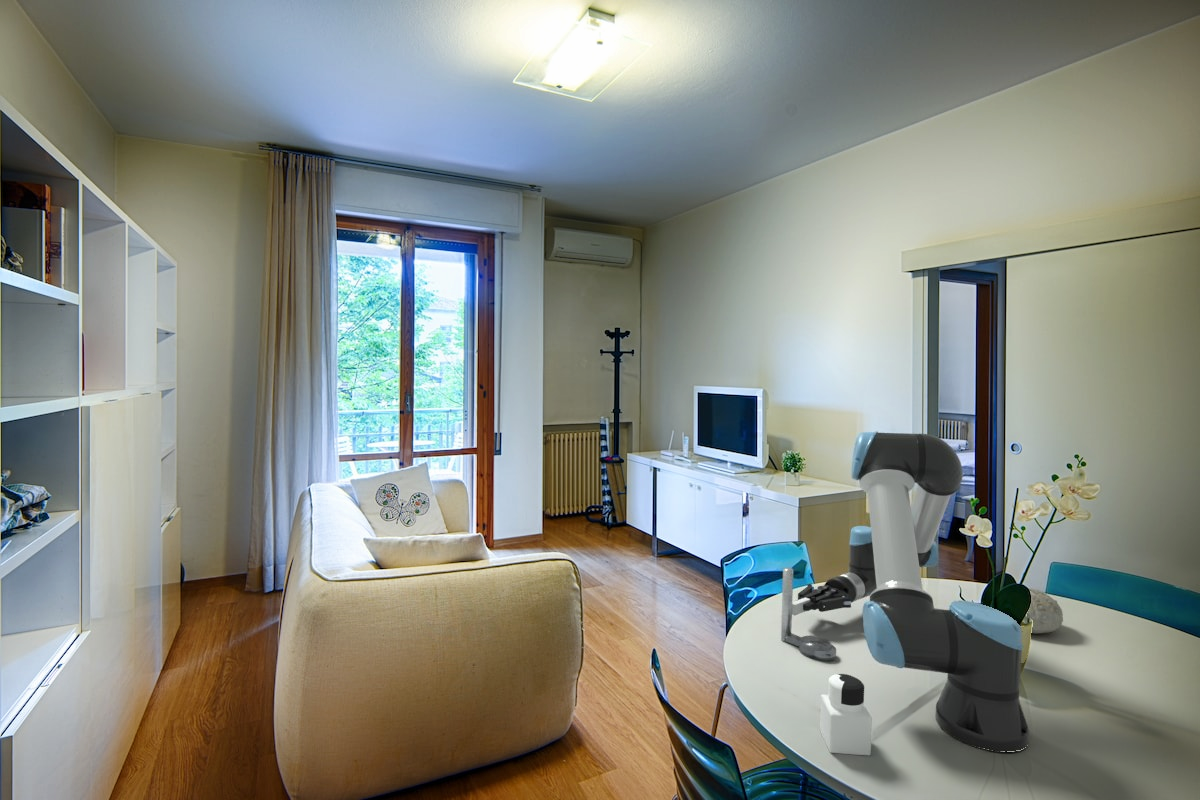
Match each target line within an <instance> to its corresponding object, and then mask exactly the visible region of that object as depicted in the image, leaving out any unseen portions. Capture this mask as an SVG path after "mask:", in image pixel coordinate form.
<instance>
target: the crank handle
mask: <svg viewBox="0 0 1200 800" xmlns="http://www.w3.org/2000/svg"><path fill="white" fill-rule="evenodd" d="M793 585H794V569H793V568H792V567H783V568H782V599H781V628H780V629H781V631H780V639H781V642H784V643H789V644H792V645H794V646H796V647H798V649H799V653H800V654H801V655H803V656H804V657H806V658H809V659H814V660H816V661H818V662H819V661H820V662H825V663H831V662H834V661H836V660H837V648H836V647H835V645H833V644H831V642H830V641H829V640H828V639H826V638H824V637H820V636H817V635H804V636H799V635H797V634H795V633H792V627H793V626H792V623H793V620H792V619H793V615H792V602H793V593H794V591H793V590H794V589H793V588H794V587H793Z"/></svg>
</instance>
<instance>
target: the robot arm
mask: <svg viewBox="0 0 1200 800" xmlns="http://www.w3.org/2000/svg"><path fill="white" fill-rule="evenodd" d="M851 462H852V463H851V470H850V471H851V473H850V475H851V478H852V480H855V481H859V487H860V488H861V490H862V491H863V492H864V493H865V494H867V499H868V501H867V502H868V512H869V521H870V526H867V525H856V526H854V527H852V528H851V530H850V536H849V542H848V545H849V559H848V561H849V562H848V572H846V573H843V574H840V575H836V576H835V577H832V578H829V579H828V580H827V581H826V582H825V583H824V584H823V585H818V586H817V587H815V586H814V585H813V584H811V583H807V584H806V585H807V587H805V588H803V589H802V590H801V591H800V592H798V593H797V599H796V600H795V601H792V616H797V615H800V614H803V613H805V612H809V611H811V610H812V611H817V610H818V611H819V612H821V613H823V612H824V613H825V612H829V611H833V610H838V609H845V608H846V609H847V608H849V609H851V608H852V603H854V602H856V601H859V600H861V599H864V598H866V597H869V600H868V601H866V602H864V603H863V606H862V619H863V622H862V624H863V631H864V637H865V642H866V645H867V647H868V648H867V649H868V650H869V653H870V655H871V657H872V658H873V660H874V661H876V663H879V664H881V665H886V666H891V667H895V668H898V669H903V668H905V669H911V670H919V671H927V672H933V673H941V674H947V678H946V679H947V680H946V682H945V685H944V687H943V689H942V691H941V693H940V696H939V699H938V700H937V702H936V704H935V715H934V716H935V721H936V722H937V724H938V726H939V727H940V728H941V729H942V730H944V731H945V732H946V733H947V734H949V735H950V736H951V737H953V738H954V739H956V738H957V740H959V741H960V742H962V743H964V744H966V745H969V744H970V745H969V746H972V745H973V746H972V747H974V746H976V747H975V748H977V747H980V748H979V749H981V748H985V749H989V750H993V751H999V752H998V753H1001V752H1000V751H1005V752H1007V751H1016V750H1021V749H1023V748H1025V747H1028V746H1029V743H1030V741H1029V740H1030V739H1029V738H1030V732H1029V731H1030V730H1029V726H1028V724H1027V720H1026V717H1025V714H1024V711H1023V707H1022V704H1021V701H1020V687H1021V686H1020V685H1021V669H1022V668H1021V667H1022V651H1023V648H1024V646H1023V639H1022V637H1023V636H1022V632H1023V631H1021V627H1020V625H1019V624H1018V623H1017V621H1016V620H1014V619H1013V618H1012V617H1010V616H1009V615H1007V614H1005V613H1003V612H1001V611H999V610H997V609H994V608H992V607H989V606H986V605H983V604H982V603H979V602H974V601H969V600H953V601H952V602H951V603H950V605H949V606H948V607H949V609H942V608H941V609H940V608H935V606H934V605H935V604H934V600H933V596H932V595H931V594H930V593H928V592H927V591H926V590H924V588H923V584H922V575H921V569H920V568H934V567H935V566H936V565H937V564H938V562H939V548H938V544H937V542H936V541H935V538H936V535H937V533H938V530H939V528H940V524H941V522H942V520H943V518H944V514H945V512H946V509H947V507H948V504H949V501H950V498H951V497H952V496H953V495H954V494H956V493H957V492H958V491H959V489H960V487H961V483H962V482H963V474H964V472H963V466H962V462H961V460H960V457H959V456H958V454H957V453H956V451H955V450H954V448H952V446H950V444H948V443H947V442H946V440H943V439H941V438H939V437H937V436H935V435H932V434H929V433H905V432H904V433H903V432H902V433H900V432H896V433H895V432H878V431H876V430H875V431H864V432H861V433H859V434H857V435H856V439H855V443H854V448H853V453H852V461H851ZM915 484H917V485H915ZM915 486H916V488H915V492H914V495H913V498H912V502H911V500H910V493H909V492H910V491H912V490H913V489H914V487H915ZM1027 745H1028V746H1027ZM993 751H992V752H993Z"/></svg>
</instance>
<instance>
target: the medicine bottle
mask: <svg viewBox="0 0 1200 800" xmlns="http://www.w3.org/2000/svg"><path fill="white" fill-rule="evenodd" d="M827 690H828V693H827V694H820V709H819V710H820V713H819V714H820V715H819V731H820V733H821V735H822V738H823V740H824V742H825V744H826V747H827V749H828V751H829V752H830V753H831V754H842V755H856V756H857V755H858V756H871V755H872V752H871V750H872V729H873V727H872V724H873V718H872V715H871V714H870V712H869V711H868V709H867V707H866V706H865V684H864V683H863V681H861V680H860V679H859V678H857V677H855V676H853V675H850V674H847V673H846V674H845V673H835V674H833V675H831V676H830V677H829V678H828V689H827Z"/></svg>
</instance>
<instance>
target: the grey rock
mask: <svg viewBox="0 0 1200 800" xmlns="http://www.w3.org/2000/svg"><path fill="white" fill-rule="evenodd" d="M1027 588H1028V589H1029V590H1030V591H1031V606H1030V609H1029V611H1028V613H1027V617H1028V618H1031V619H1032V620H1033V627H1032V633H1031V634H1046V633H1051V632H1055V631H1057V630H1058V629H1059V628H1060V627H1061V626H1062V624H1063V622H1064V617H1063V615H1064V613H1063V609H1062V608H1061V606H1060V605H1059V604H1058V601H1057V600H1056V599H1054V598H1053V597H1051V596H1050V595H1049V594H1047V593H1045V592H1044V591H1040V590H1039V589H1034V588H1029V587H1027Z"/></svg>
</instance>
